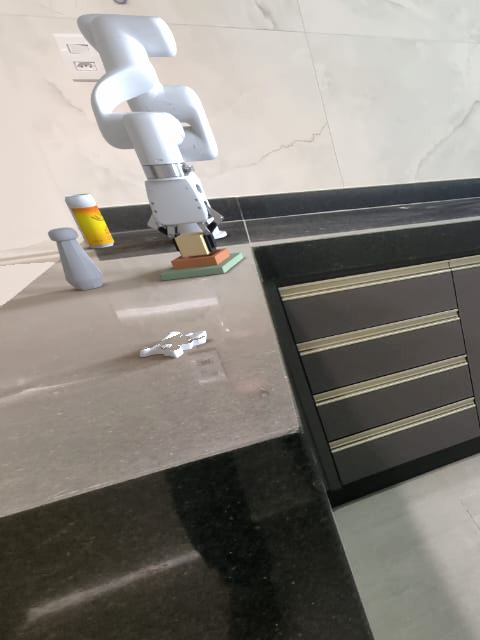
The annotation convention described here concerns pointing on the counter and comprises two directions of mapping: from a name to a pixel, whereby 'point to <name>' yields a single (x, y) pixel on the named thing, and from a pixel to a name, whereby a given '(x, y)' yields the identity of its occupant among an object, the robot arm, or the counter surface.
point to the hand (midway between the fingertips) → (198, 251)
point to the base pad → (202, 265)
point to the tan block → (192, 244)
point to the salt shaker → (75, 260)
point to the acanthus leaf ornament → (182, 347)
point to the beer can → (89, 220)
